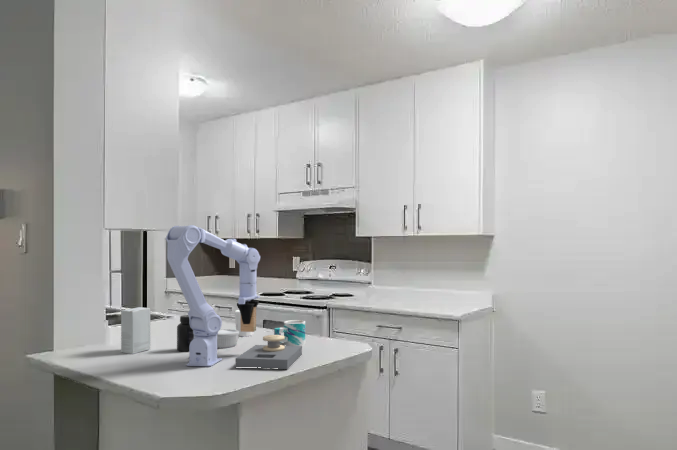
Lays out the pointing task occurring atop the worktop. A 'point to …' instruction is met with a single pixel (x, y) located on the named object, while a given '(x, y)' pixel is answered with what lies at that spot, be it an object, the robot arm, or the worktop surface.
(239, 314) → the white cup
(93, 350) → the worktop surface
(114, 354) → the worktop surface
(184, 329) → the supplement bottle
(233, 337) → the ramekin
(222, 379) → the worktop surface
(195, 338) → the robot arm
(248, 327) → the wooden block
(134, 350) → the skincare box
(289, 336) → the mug
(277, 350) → the notched board
